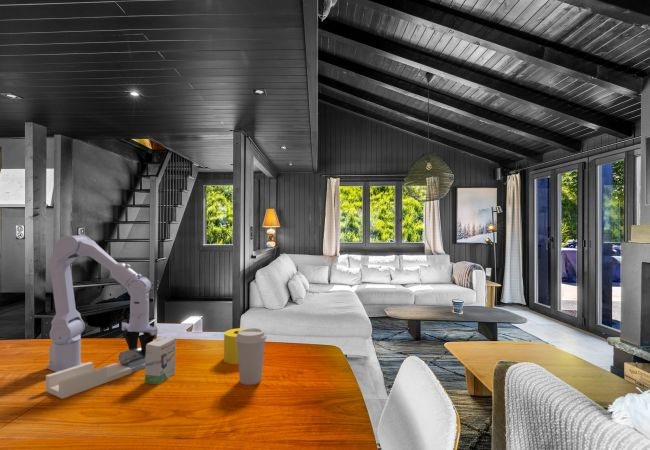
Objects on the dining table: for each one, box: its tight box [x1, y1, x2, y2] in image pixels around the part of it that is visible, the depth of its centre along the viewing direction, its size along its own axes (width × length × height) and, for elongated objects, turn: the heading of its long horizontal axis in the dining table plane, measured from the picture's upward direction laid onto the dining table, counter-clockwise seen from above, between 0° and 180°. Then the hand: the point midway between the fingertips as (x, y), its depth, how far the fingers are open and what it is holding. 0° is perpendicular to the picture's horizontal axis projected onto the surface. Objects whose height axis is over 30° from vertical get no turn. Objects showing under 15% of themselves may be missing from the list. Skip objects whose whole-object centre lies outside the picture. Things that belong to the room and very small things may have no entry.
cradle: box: [119, 357, 146, 373], centre depth 122 cm, size 8×7×2 cm
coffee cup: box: [235, 327, 267, 386], centre depth 112 cm, size 10×10×15 cm
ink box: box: [144, 336, 177, 386], centre depth 113 cm, size 9×5×12 cm, turn 168°
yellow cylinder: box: [223, 327, 246, 365], centre depth 130 cm, size 10×10×9 cm
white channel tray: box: [45, 361, 133, 400], centre depth 110 cm, size 9×20×4 cm, turn 151°
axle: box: [118, 346, 146, 364], centre depth 123 cm, size 10×4×4 cm, turn 153°
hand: (139, 353), depth 124 cm, fingers open, 5 cm apart
